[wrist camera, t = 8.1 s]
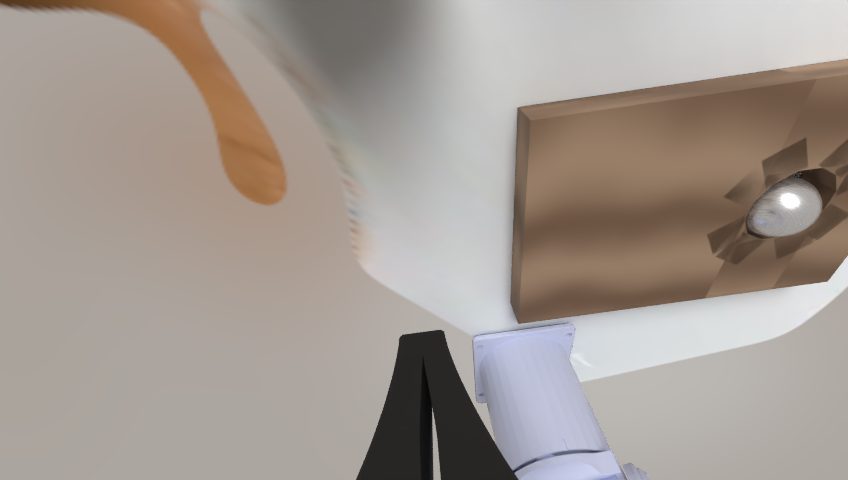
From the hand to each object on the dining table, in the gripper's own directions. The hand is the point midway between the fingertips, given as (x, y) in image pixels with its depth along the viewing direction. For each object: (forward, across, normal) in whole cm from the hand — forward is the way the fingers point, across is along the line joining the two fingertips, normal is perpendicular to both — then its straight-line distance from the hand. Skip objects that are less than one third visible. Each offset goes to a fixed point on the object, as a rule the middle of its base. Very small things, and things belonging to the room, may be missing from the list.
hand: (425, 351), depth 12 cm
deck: (+10, -16, +3) cm, 20 cm away
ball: (+9, -20, +3) cm, 22 cm away
